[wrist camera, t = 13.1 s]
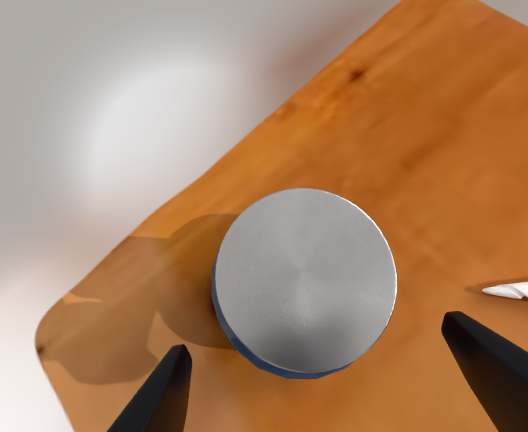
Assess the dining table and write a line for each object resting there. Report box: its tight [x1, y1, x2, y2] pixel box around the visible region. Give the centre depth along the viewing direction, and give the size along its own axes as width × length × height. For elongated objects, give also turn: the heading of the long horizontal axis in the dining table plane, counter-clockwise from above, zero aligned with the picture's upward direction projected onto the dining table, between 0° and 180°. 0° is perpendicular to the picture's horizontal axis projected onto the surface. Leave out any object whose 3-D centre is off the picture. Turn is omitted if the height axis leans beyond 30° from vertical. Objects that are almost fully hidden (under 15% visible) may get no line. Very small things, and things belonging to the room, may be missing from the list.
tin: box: [215, 188, 397, 373], centre depth 14 cm, size 6×6×13 cm
